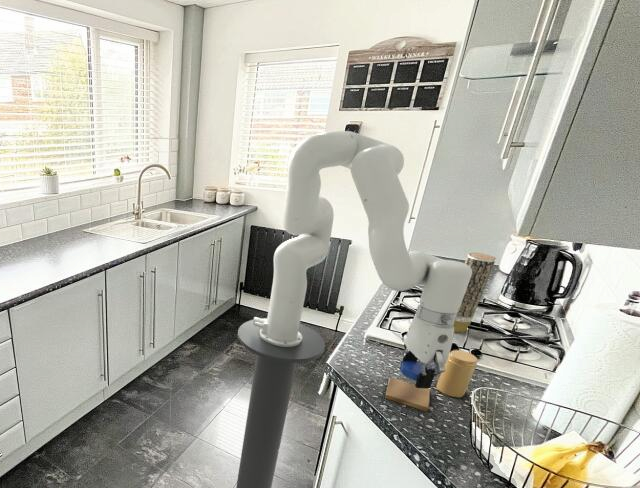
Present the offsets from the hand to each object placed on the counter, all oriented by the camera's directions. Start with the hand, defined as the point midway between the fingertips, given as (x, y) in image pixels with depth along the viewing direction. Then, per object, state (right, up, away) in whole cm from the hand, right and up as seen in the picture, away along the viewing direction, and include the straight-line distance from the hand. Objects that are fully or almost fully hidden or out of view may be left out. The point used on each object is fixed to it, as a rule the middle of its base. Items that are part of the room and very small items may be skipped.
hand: (414, 378), depth 104 cm
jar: (+12, -4, +5) cm, 14 cm away
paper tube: (+37, +10, +35) cm, 51 cm away
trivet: (0, -5, +3) cm, 5 cm away
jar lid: (0, +2, -1) cm, 3 cm away
